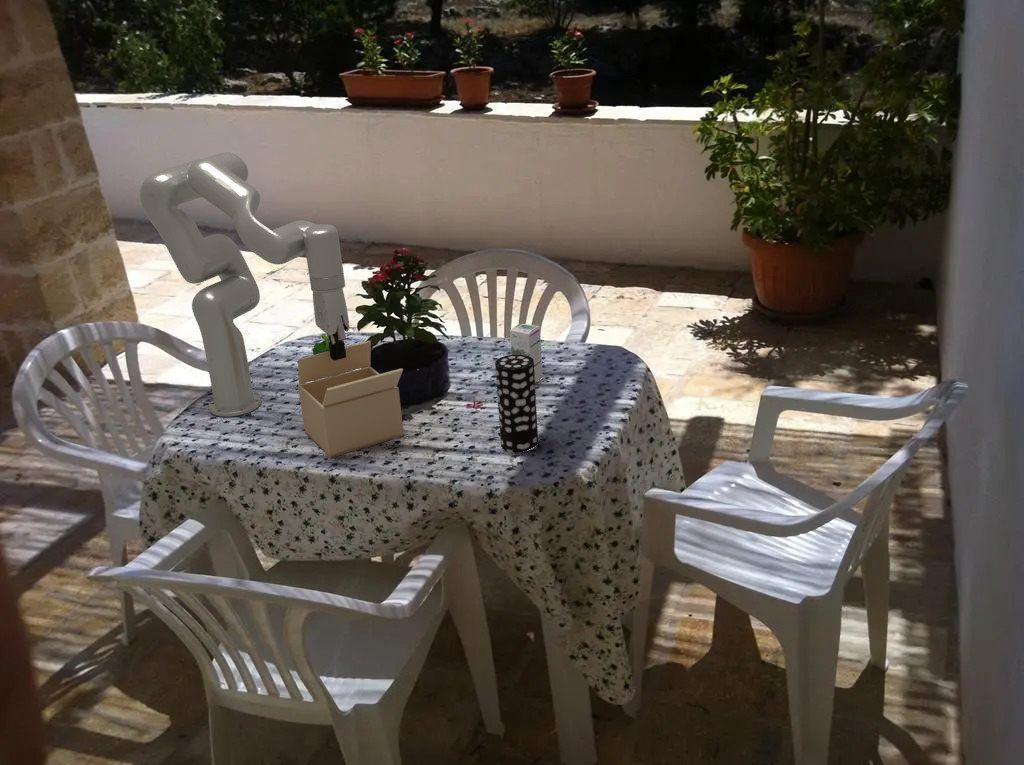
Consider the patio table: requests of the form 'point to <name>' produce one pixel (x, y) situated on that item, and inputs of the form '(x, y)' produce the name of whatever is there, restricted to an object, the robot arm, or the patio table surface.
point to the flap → (333, 363)
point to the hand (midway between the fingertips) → (338, 358)
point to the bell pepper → (321, 346)
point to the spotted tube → (516, 402)
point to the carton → (350, 415)
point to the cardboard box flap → (362, 387)
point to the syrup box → (528, 345)
